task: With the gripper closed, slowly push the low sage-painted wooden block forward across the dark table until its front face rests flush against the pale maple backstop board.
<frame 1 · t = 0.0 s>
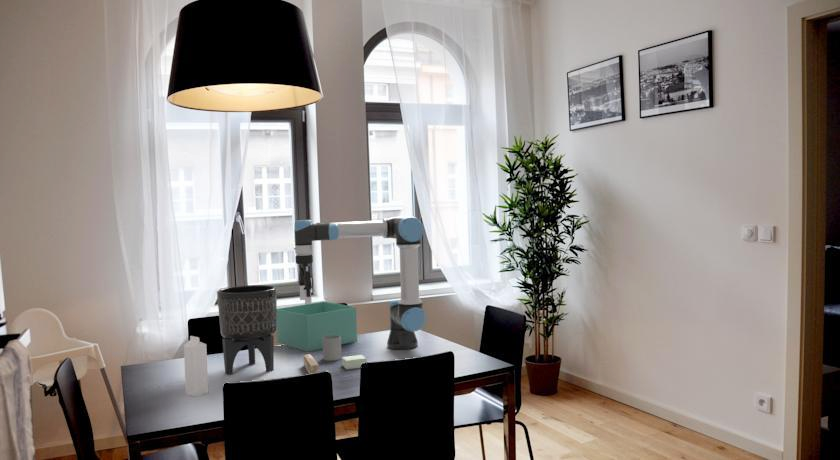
hand: (305, 302, 274), 28 cm above the table, fingers open, 13 cm apart
block: (354, 366, 270), on the table
cup: (332, 358, 284), on the table
box: (317, 342, 320), on the table
planter: (250, 369, 269), on the table
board: (311, 371, 263), on the table
milk: (197, 393, 236), on the table
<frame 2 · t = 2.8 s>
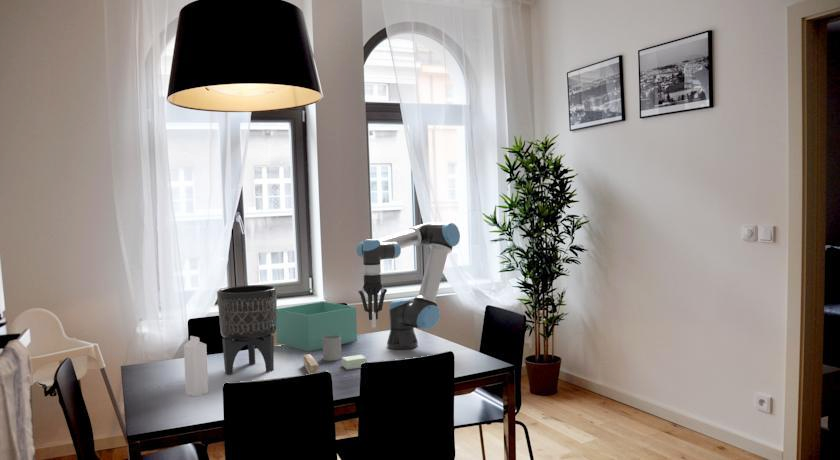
hand: (373, 327, 272), 16 cm above the table, fingers closed
nothing on the table moved.
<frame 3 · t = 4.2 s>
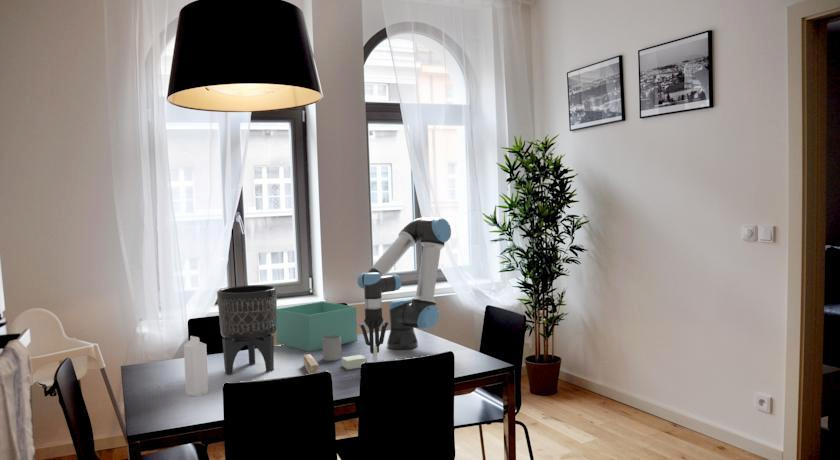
hand: (374, 360, 273), 1 cm above the table, fingers closed
nothing on the table moved.
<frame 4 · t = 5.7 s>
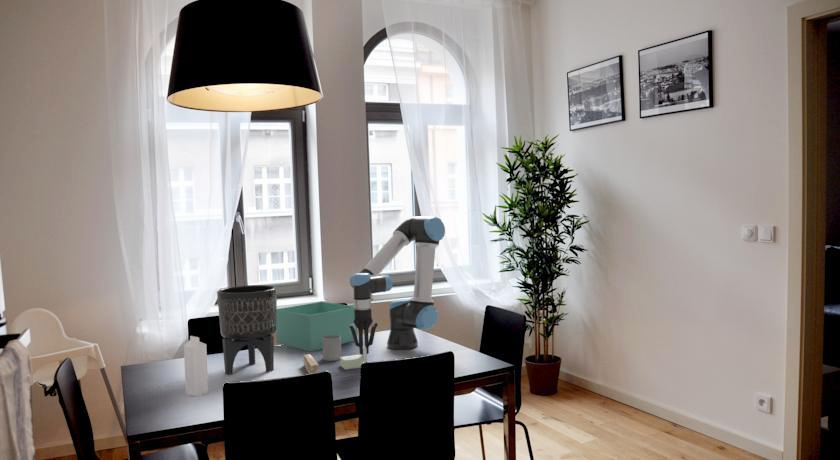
hand: (364, 361, 271), 2 cm above the table, fingers closed
nothing on the table moved.
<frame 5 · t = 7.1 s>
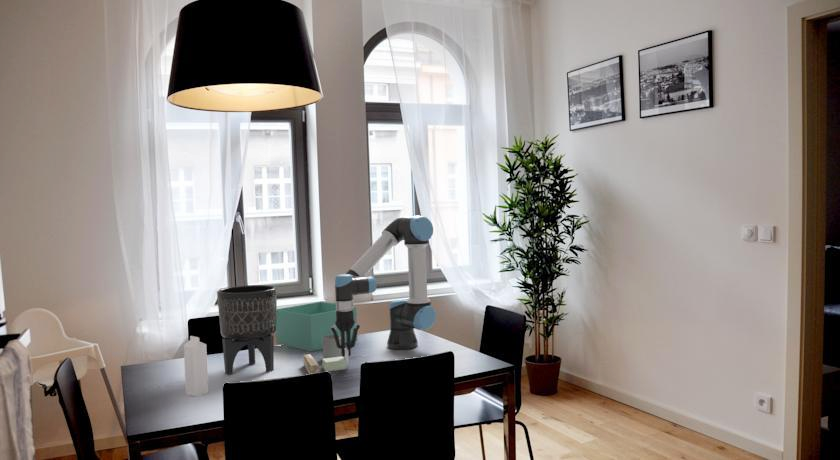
hand: (346, 363, 268), 2 cm above the table, fingers closed
block: (334, 368, 267), on the table, touching gripper
everything else where it was.
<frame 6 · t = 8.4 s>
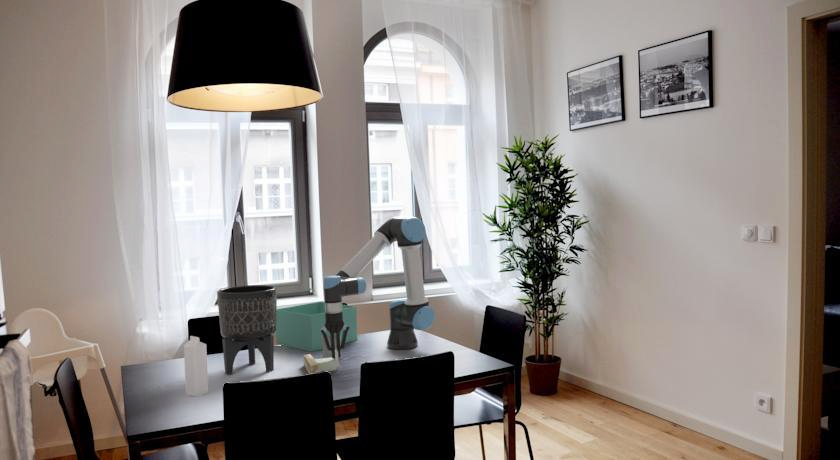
hand: (336, 365, 267), 1 cm above the table, fingers closed
block: (324, 369, 266), on the table, touching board, gripper
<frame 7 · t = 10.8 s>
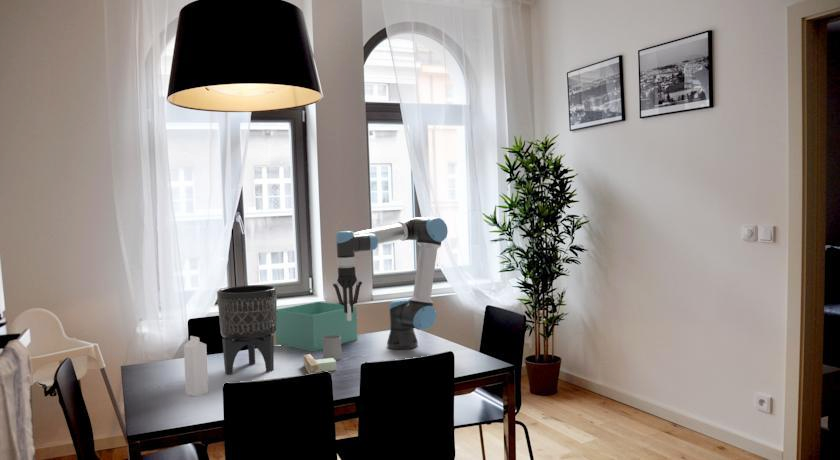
hand: (349, 320, 268), 20 cm above the table, fingers closed
block: (324, 369, 266), on the table
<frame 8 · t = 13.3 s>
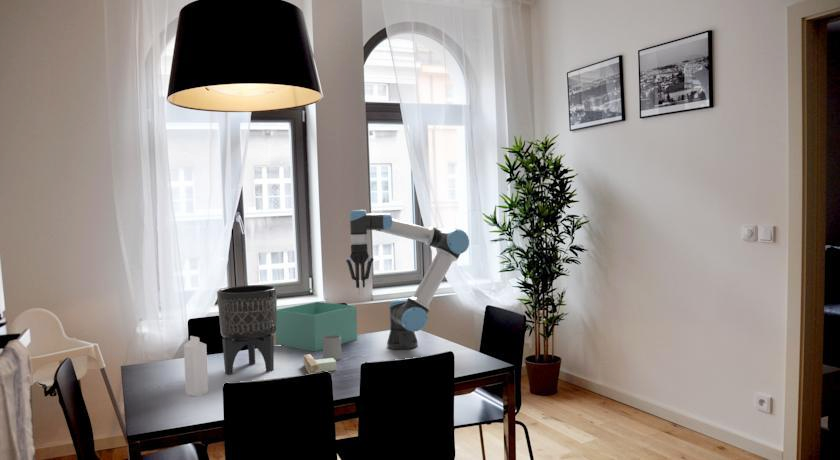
hand: (360, 294, 282), 29 cm above the table, fingers closed
at the end: block inside the target area on the table beside the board (0.6 cm from its centre), on the table; block tilted 0°; block moved 13.0 cm from its start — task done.
